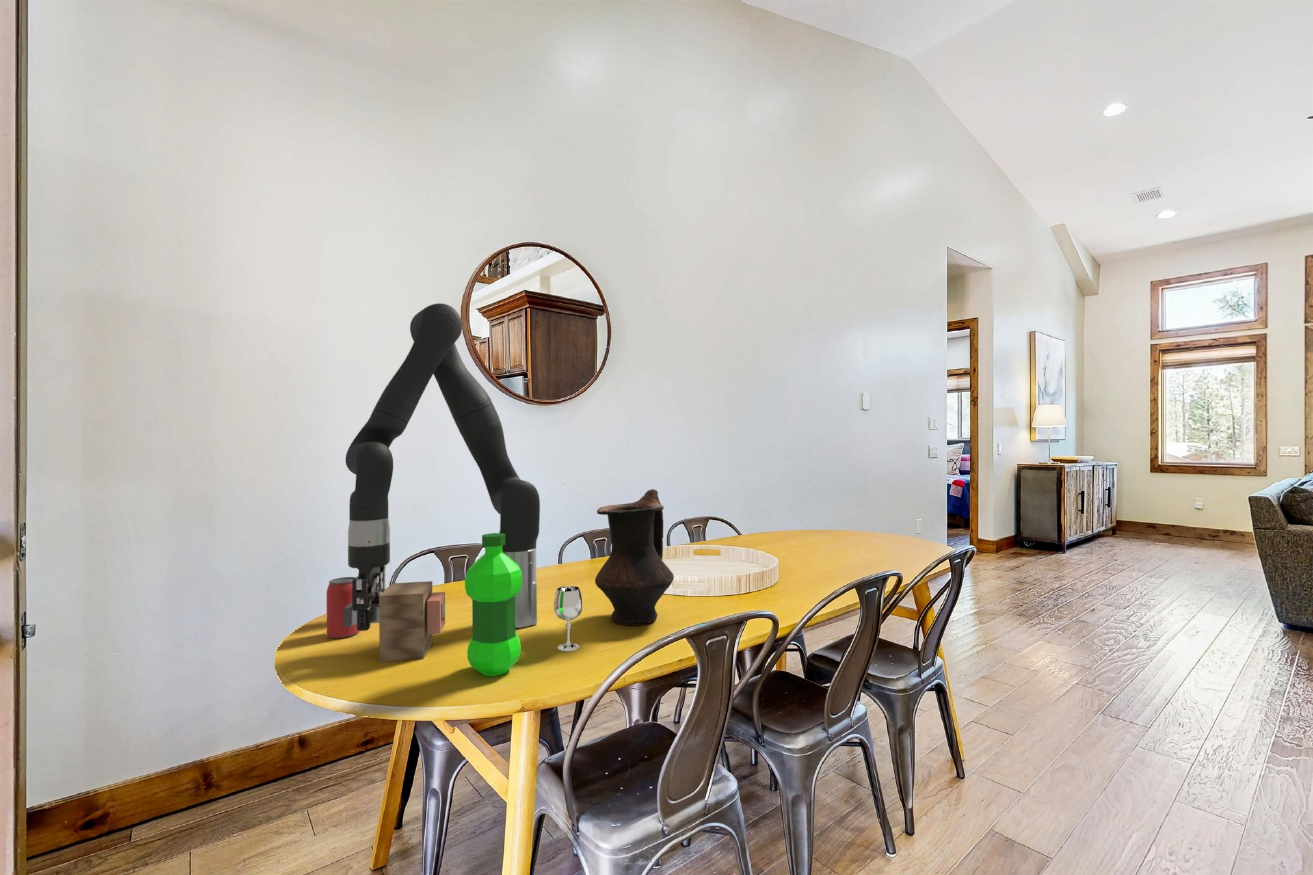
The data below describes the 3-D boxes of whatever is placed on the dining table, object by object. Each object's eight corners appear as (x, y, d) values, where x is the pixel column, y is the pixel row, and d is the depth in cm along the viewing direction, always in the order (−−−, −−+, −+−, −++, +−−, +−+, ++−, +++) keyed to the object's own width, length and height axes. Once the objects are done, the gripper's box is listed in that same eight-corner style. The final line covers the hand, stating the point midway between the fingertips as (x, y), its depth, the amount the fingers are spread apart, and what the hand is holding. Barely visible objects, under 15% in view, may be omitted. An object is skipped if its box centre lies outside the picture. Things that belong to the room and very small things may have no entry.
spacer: (445, 623, 123) (444, 591, 123) (440, 633, 116) (439, 600, 116) (433, 624, 122) (432, 592, 122) (427, 634, 116) (427, 601, 116)
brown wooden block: (432, 641, 124) (432, 581, 124) (423, 658, 114) (423, 593, 114) (392, 643, 122) (391, 583, 122) (379, 661, 113) (379, 595, 113)
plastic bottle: (500, 655, 115) (499, 528, 115) (534, 668, 109) (533, 534, 109) (454, 671, 108) (453, 535, 108) (487, 686, 101) (487, 541, 101)
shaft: (445, 615, 122) (444, 597, 122) (442, 621, 118) (442, 602, 118) (350, 621, 118) (349, 602, 118) (343, 627, 114) (343, 608, 114)
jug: (648, 637, 125) (647, 497, 125) (578, 624, 134) (578, 494, 134) (692, 612, 143) (691, 489, 143) (628, 602, 153) (627, 487, 153)
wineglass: (559, 654, 116) (558, 593, 116) (550, 645, 121) (550, 587, 121) (586, 649, 119) (586, 590, 119) (577, 640, 124) (576, 583, 124)
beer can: (346, 640, 125) (345, 584, 125) (319, 638, 126) (319, 582, 126) (367, 630, 131) (367, 576, 131) (341, 628, 133) (341, 575, 133)
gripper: (379, 547, 111) (380, 634, 111) (397, 535, 125) (397, 612, 125) (336, 548, 109) (336, 637, 109) (359, 536, 123) (359, 614, 123)
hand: (369, 623), depth 117 cm, fingers open, 7 cm apart
